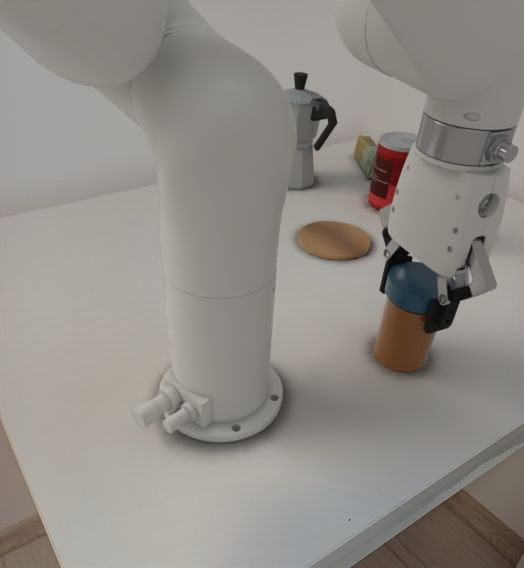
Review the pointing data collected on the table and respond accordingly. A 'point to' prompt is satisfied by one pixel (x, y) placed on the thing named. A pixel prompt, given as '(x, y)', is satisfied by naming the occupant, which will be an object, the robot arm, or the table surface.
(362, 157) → the medication box
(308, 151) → the coffee maker
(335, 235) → the coaster
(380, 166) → the canned food
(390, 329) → the jar
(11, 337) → the table surface
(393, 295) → the jar lid
